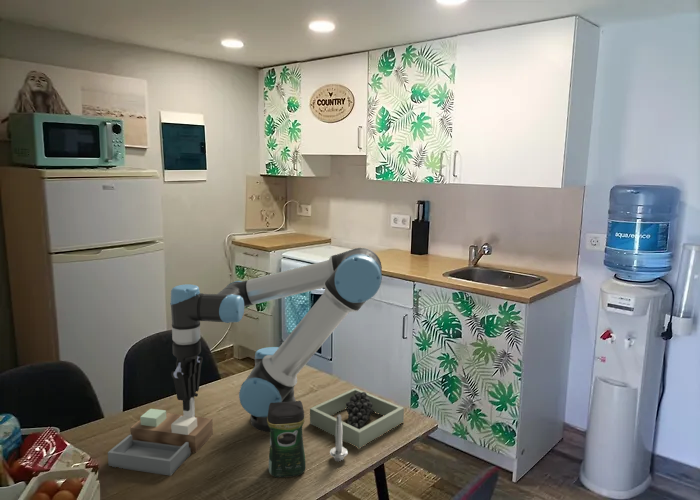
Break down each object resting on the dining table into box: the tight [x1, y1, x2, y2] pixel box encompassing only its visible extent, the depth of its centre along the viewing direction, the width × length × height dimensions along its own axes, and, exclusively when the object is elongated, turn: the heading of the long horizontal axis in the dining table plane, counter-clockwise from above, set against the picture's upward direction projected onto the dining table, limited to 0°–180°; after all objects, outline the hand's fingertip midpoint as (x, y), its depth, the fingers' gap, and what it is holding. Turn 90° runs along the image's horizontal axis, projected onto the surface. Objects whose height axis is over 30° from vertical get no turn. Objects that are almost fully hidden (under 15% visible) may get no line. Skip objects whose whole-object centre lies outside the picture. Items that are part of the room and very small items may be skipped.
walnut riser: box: [130, 412, 214, 453], centre depth 148 cm, size 20×10×5 cm, turn 78°
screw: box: [329, 413, 349, 462], centre depth 138 cm, size 13×5×5 cm
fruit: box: [346, 391, 374, 429], centre depth 157 cm, size 9×8×15 cm
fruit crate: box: [309, 387, 405, 449], centre depth 158 cm, size 20×20×5 cm
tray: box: [107, 434, 192, 477], centre depth 137 cm, size 18×10×4 cm, turn 78°
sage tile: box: [139, 408, 167, 427], centre depth 148 cm, size 5×5×2 cm
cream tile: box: [171, 416, 197, 435], centre depth 144 cm, size 5×5×2 cm
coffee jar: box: [267, 400, 307, 478], centre depth 132 cm, size 10×8×19 cm
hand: (189, 419), depth 147 cm, fingers closed
